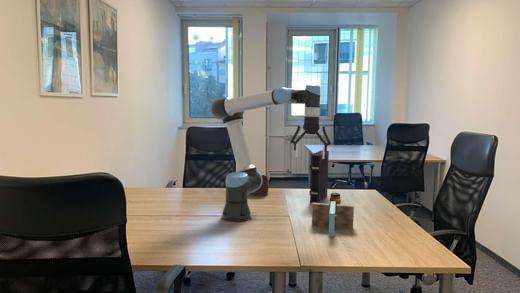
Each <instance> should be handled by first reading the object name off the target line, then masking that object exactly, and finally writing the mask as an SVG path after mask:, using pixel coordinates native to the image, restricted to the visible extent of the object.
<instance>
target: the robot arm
mask: <svg viewBox="0 0 520 293" xmlns="http://www.w3.org/2000/svg"><path fill="white" fill-rule="evenodd" d="M321 92H322V91H321V85H317V84H306V85H305V87H304V88H290V87H284V86H283V87H278V88H276V89H272V90H266V91H262V92H257V93H253V94H248V95H242V96H238V97H223V98H222V97H219V98H216V99H215V100H213V102H212V103H211V105H210V106H211V107H210V112H211V114H212V116H213V117H214V118H215V119H217V120H222V125H224V126H225V127H226V130H227V132H228V137H229V139H230V140H229V141H230V144H231V148H232V151H233V156H234V159H235V163H236V167H237V169H236V171H233V172H230V173H228V174H226V177H225V181H224V182H225V204H224V207H223V210H222V213H221V215H222V216H221V218H222V219H223V220H225V221H229V222H245V221H248V220H250V219H251V216H252V215H251V209H250V206H249V203H248V198H249V195H248V194H250V193H252V192H255V191H257V190H258V189H259V188H260V187H261V185H262V182H263V179H262V176H261V175H262V174H261V173H260V172H259V171H258V170H257V167H256V165H254V164H253V161H252V158H251V155H250V150H249V147H248V142H247V138H246V135H245V131H244V127H243V121H244V117H243V116H244V114H245V112H246V111H247V112H248V111H251V110H257V109H261V108H266V107H267V108H268V107H272V106H280V105H284V104H285V105H286V104H289V105H292V104H293V105H296V104H297V105H298V104H299V105H300V104H301V105H304V113H303V114H304V118H303V125H301V124H298V125H297V127H296V128H297V129H296V131H295V133H294V134H293V136H292V138H291V139H290V143H291V144H293V151H295V158H298V157H299V144H298V143H299V142H300V141H301V139H302V138H303V137H304V136H305V135H312V136H313V135H315V136H317V137H318V139H319V140H320V142H321V143H322V144H323V146H322V151H323V157H322V159H324V154H325V152H327V151H328V146H331V144H332V143H331V140H330V138H329V135H328V134H327V131H326V126H324V125H323V126H321V125H320V114H321V112H320V111H321V95H322V94H321ZM300 130H304V131H303V132H302V133H301V134H300V136H299V137H298V138H297V136H298V135H299V133H300ZM319 131H322V133H323V135H324V137H325V138H324V137H323V136H322V135H321V134H320V133H319ZM296 138H297V139H296ZM326 141H327V142H326Z"/></svg>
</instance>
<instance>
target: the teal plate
mask: <svg viewBox="0 0 520 293" xmlns="http://www.w3.org/2000/svg"><path fill="white" fill-rule="evenodd" d="M335 205H336V202H334V201H331V204H330V213H329V227H328V237H329V238H335V228H336V227H335Z"/></svg>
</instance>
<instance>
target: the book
mask: <svg viewBox="0 0 520 293" xmlns="http://www.w3.org/2000/svg"><path fill="white" fill-rule="evenodd" d="M310 155H311V158H310V159H311V161H310V162H311V164H310V166H309V170H310V188H309V189H310V190H309V194H308V195H309V196H310V197H309V198H310V199H309V202H310V203H321V202H322V201H323V200H324V199H325V198H326V197H327V196H328V184H329V183H328V182H329V180H328V179H329V158H330V157H329V156H330V151H329V150H327V152H325V154H324V159H322V157H323V149H322V150H321V149H320V150H318V151H316V152H314V153H312V154H310Z"/></svg>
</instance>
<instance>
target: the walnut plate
mask: <svg viewBox="0 0 520 293" xmlns="http://www.w3.org/2000/svg"><path fill="white" fill-rule="evenodd" d="M311 209H312V210H311V212H312V213H311V226H315V227H328V228H329V203H323V202H319V203H317V202H312V208H311ZM354 210H355V206H354V205H353V204H352V205H351V204H341V205H340V204H337V210H336V215H335V228H340V229H341V228H342V229H354V213H355V211H354Z"/></svg>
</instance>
